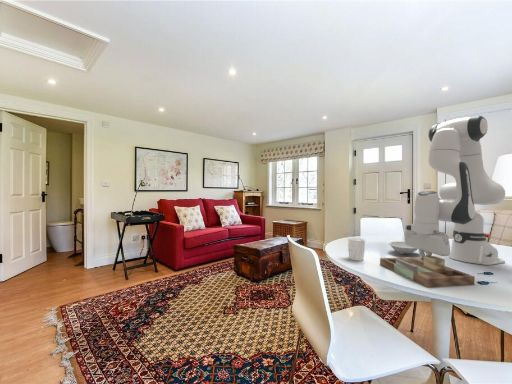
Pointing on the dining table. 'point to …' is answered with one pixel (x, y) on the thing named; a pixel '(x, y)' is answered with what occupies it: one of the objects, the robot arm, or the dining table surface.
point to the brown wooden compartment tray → (426, 272)
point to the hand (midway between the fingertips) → (425, 260)
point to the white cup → (356, 248)
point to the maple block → (434, 262)
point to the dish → (402, 247)
